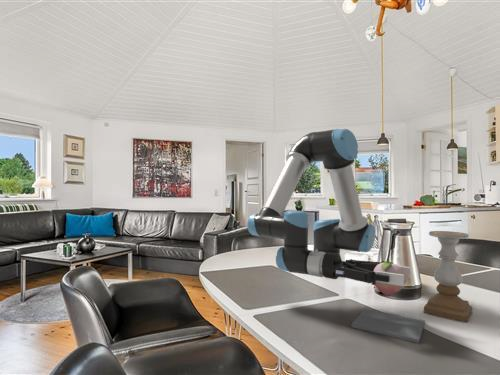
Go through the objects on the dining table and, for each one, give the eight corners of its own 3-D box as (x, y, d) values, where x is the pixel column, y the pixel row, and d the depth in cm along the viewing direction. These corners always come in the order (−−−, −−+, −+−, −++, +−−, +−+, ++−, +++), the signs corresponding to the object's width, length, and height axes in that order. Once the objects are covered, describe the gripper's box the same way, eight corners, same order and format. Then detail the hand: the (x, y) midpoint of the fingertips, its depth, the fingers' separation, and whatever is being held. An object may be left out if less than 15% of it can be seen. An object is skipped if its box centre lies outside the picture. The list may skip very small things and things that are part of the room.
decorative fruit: (407, 303, 82) (407, 263, 82) (372, 298, 85) (373, 260, 85) (404, 293, 90) (404, 257, 91) (372, 289, 93) (373, 254, 94)
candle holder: (472, 312, 98) (473, 232, 98) (466, 323, 89) (467, 236, 90) (432, 303, 105) (432, 229, 105) (422, 312, 97) (423, 232, 97)
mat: (351, 326, 86) (351, 323, 86) (364, 310, 98) (364, 308, 98) (418, 343, 77) (418, 339, 77) (424, 323, 89) (424, 320, 89)
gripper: (310, 258, 88) (400, 270, 76) (337, 247, 107) (412, 255, 95) (310, 285, 88) (400, 302, 76) (336, 270, 107) (412, 281, 94)
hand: (406, 276), depth 85 cm, fingers closed on decorative fruit, 9 cm apart
